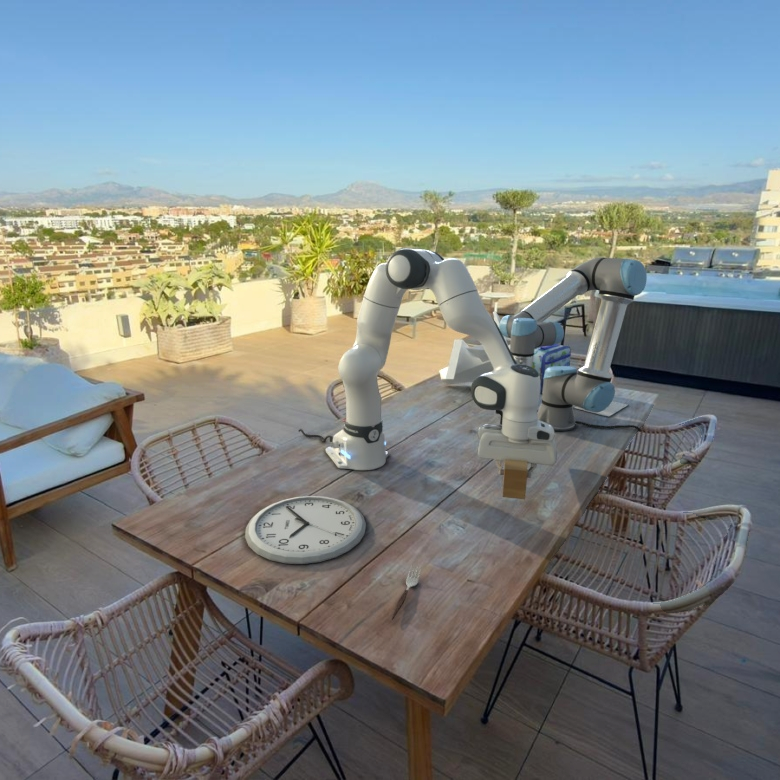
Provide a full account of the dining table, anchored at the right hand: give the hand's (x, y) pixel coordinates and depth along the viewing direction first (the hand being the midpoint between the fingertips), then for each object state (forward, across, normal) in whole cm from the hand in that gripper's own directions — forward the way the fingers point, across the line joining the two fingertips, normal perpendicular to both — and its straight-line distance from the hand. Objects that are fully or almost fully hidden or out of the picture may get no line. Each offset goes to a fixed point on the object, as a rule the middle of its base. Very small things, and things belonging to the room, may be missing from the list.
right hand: (513, 434), depth 174 cm
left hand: (-2, 0, -36) cm, 36 cm away
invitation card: (+8, +38, +62) cm, 73 cm away
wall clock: (+8, -50, -58) cm, 77 cm away
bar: (+1, 0, -18) cm, 18 cm away
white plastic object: (+8, -15, +69) cm, 71 cm away
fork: (+8, -21, -77) cm, 81 cm away
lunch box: (+8, +16, +84) cm, 86 cm away
